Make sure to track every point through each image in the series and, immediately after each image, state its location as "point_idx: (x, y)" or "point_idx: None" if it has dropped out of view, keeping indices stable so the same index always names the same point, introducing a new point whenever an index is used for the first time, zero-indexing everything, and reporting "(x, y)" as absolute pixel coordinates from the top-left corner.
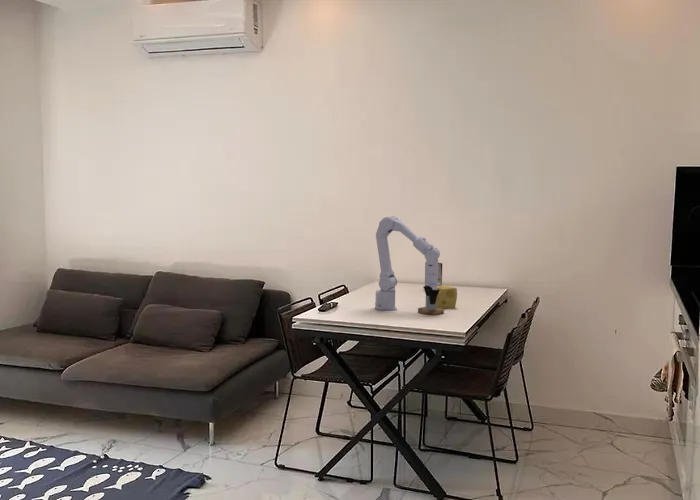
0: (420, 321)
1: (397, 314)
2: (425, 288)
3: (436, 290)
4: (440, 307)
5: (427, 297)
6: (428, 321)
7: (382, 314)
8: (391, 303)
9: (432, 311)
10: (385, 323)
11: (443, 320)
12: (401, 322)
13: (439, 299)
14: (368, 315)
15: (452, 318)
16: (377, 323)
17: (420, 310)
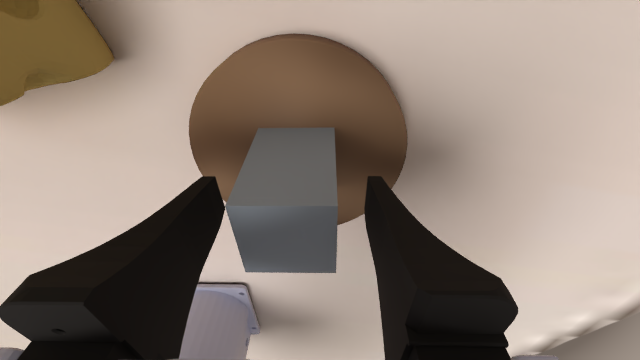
0: (567, 240)
1: (356, 291)
2: (175, 350)
3: (502, 332)
4: (83, 22)
5: (334, 271)
6: (594, 208)
7: (351, 325)
8: (236, 328)
9: (395, 163)
10: (528, 333)
11: (632, 113)
12: (541, 299)
13: (20, 60)
14: (366, 350)
15: (608, 6)
16: (515, 346)
17: (340, 223)
